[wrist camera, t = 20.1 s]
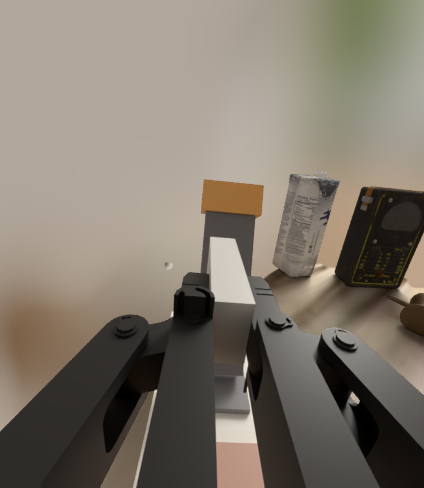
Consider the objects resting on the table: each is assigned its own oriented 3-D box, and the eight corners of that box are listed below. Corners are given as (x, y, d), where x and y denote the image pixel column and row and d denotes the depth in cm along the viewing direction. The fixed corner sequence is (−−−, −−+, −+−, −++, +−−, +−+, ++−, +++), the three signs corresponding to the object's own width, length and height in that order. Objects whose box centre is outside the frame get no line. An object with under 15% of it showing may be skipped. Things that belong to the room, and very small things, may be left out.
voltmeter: (348, 288, 59) (383, 188, 50) (329, 272, 67) (357, 183, 58) (403, 291, 60) (447, 194, 52) (378, 275, 68) (412, 189, 60)
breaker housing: (298, 595, 16) (324, 551, 14) (121, 595, 15) (117, 549, 13) (246, 348, 36) (253, 313, 34) (170, 343, 36) (172, 308, 33)
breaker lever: (248, 378, 22) (263, 185, 23) (186, 375, 22) (203, 179, 23) (243, 366, 25) (257, 191, 25) (188, 363, 24) (203, 186, 25)
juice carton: (290, 280, 59) (317, 171, 50) (267, 262, 68) (287, 167, 59) (316, 277, 63) (347, 174, 53) (291, 260, 72) (313, 170, 62)
